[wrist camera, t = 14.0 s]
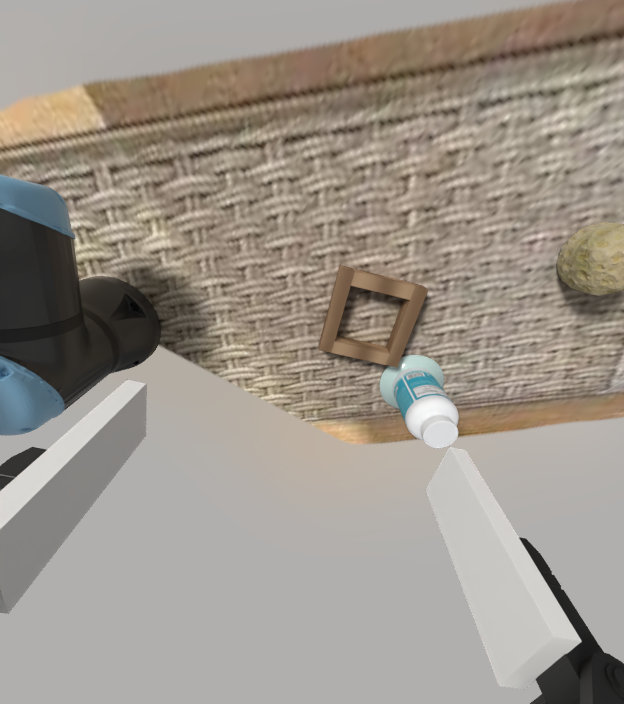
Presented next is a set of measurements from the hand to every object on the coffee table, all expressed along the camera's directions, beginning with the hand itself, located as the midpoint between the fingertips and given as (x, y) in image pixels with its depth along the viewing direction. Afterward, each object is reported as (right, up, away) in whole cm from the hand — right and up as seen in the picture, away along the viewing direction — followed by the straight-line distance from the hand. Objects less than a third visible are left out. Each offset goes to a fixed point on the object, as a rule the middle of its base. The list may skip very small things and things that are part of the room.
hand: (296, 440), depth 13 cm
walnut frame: (+10, +10, +36) cm, 38 cm away
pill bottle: (+18, -2, +41) cm, 44 cm away
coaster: (+18, -2, +41) cm, 45 cm away
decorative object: (+41, +18, +32) cm, 54 cm away
